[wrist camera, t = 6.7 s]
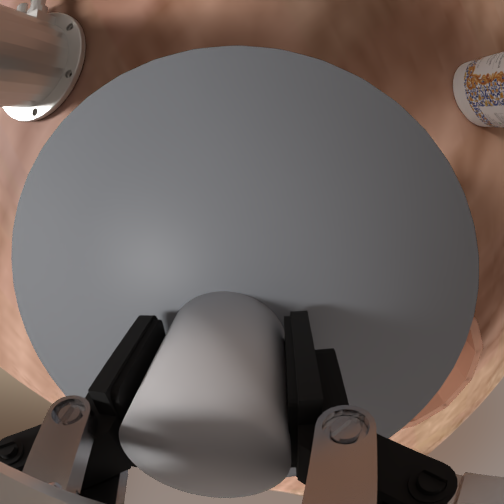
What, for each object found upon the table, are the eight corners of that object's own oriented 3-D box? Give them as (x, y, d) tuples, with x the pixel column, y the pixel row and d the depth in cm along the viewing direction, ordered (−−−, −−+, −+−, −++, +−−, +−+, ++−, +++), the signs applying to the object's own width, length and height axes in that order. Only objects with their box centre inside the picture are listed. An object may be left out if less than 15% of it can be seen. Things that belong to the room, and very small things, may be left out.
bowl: (327, 281, 30) (343, 319, 24) (463, 269, 29) (498, 297, 23) (322, 397, 36) (329, 440, 29) (436, 379, 35) (456, 414, 28)
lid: (-1, 123, 10) (-111, 136, 4) (465, 65, 8) (584, 36, 2) (103, 446, 16) (69, 520, 10) (415, 443, 14) (443, 526, 8)
